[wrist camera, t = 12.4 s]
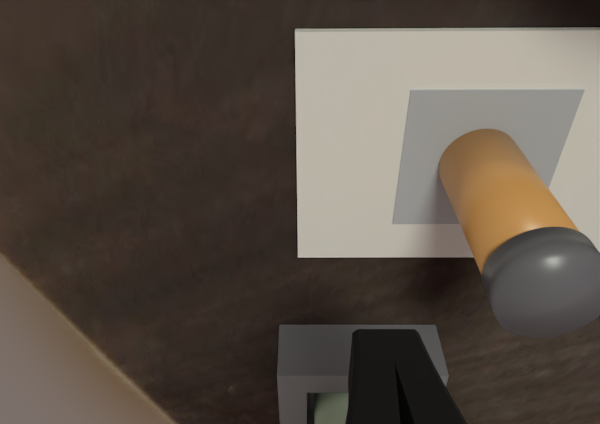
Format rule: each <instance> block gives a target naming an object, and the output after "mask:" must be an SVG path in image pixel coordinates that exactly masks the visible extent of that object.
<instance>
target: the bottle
mask: <svg viewBox="0 0 600 424" xmlns="http://www.w3.org/2000/svg"><path fill="white" fill-rule="evenodd" d="M439 176H440V179H441V182H442V184H443V186H444V189H445V191H446V193H447V196H448V198H449V200H450V203H451V205H452V207H453V209H454V212H455V214H456V216H457V219H458V221H459V223H460V226H461V228H462V230H463V233H464V235H465V237H466V240H467V242H468V244H469V247H470V249H471V251H472V254H473V256H474V258H475V261H476V263H477V265H478V268H479V270H480V272H481V275H482V276H481V280H482V286H483V288H484V291H485V293H486V295H487V298H488V300H489V303H490V305H491V307H492V310H493V312H494V314H495V317H496V319H497V321H498V323H499V324H500V325H501V326H502V327H503V328H504V329H505V330H507V331H508V332H510V333H512V334H515V335H518V336H522V337H527V338H547V337H554V336H558V335H563V334H566V333H569V332H572V331H574V330H577V329H579V328H581V327H583V326H585V325H587V324H588V323H590V322H592V321H593V320H595V319H596V318H597V317H599V316H600V252H599V251H598V250H597V248H596V247H595V246H594V244H593V243H592V242H591V240H590V239H589V238H588V237H587V236H586V235H584V234H583V233H581V232H579V230H578V229H577V227H576V226H575V225H574V223H573V222H572V220H571V219H570V218H569V216H568V215H567V213H566V212H565V211H564V209H563V208H562V207H561V205H560V204H559V202H558V201H557V200H556V198H555V197H554V195H553V194H552V193H551V191H550V190H549V188H548V187H547V186H546V184H545V183H544V182H543V180H542V179H541V177H540V176H539V175H538V173H537V172H536V170H535V169H534V168H533V166H532V165H531V163H530V162H529V161H528V159H527V158H526V157H525V155H524V154H523V152H522V151H521V150H520V148H519V147H518V145H517V144H516V143H515V141H514V140H513V139H512V138H511V137H510V136H509V135H508V134H506V133H505V132H502V131H500V130H496V129H478V130H474V131H471V132H468V133H466V134H464V135H462V136H460V137H459V138H457V139H456V140H454V141H453V142H452V143H451V144H450V145H449V146H448V147H447V148H446V150H445V151H444V153H443V155H442V157H441V159H440V162H439Z"/></svg>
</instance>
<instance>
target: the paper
mask: <svg viewBox="0 0 600 424" xmlns="http://www.w3.org/2000/svg"><path fill="white" fill-rule="evenodd" d="M295 75H296V152H297V229H298V258H337V257H474V256H473V254H472V251H471V249H470V247H469V244H468V242H467V240H466V237H465V235H464V233H463V230H462V228H461V226H460V223H459V221H458V219H457V216H456V214H455V212H454V209H453V207H452V205H451V203H450V200H449V198H448V196H447V193H446V191H445V189H444V186H443V184H442V182H441V179H440V176H439V162H440V159H441V157H442V155H443V153H444V151H445V150H446V148H447V147H448V146H449V145H450V144H451V143H452V142H453V141H454V140H456V139H457V138H459V137H460V136H462V135H464V134H466V133H468V132H471V131H474V130H478V129H496V130H500V131H502V132H505V133H506V134H508V135H509V136H510V137H511V138H512V139H513V140H514V141H515V143H516V144H517V145H518V147H519V148H520V150H521V151H522V152H523V154H524V155H525V157H526V158H527V159H528V161H529V162H530V163H531V165H532V166H533V168H534V169H535V170H536V172H537V173H538V175H539V176H540V177H541V179H542V180H543V182H544V183H545V184H546V186H547V187H548V188H549V190H550V191H551V193H552V194H553V195H554V197H555V198H556V200H557V201H558V202H559V204H560V205H561V207H562V208H563V209H564V211H565V212H566V213H567V215H568V216H569V218H570V219H571V220H572V222H573V223H574V225H575V226H576V227H577V229H578V230H579V232H581V233H583V234H584V235H586V236H587V237H588V238H589V239H590V240H591V242H592V243H593V244H594V246H595V247H596V248H597V250H598V251H599V252H600V27H563V28H370V29H295Z"/></svg>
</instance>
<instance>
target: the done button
mask: <svg viewBox="0 0 600 424" xmlns="http://www.w3.org/2000/svg"><path fill="white" fill-rule="evenodd" d="M347 411H348V393H314V417H315V424H345V422H346V416H347Z"/></svg>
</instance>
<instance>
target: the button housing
mask: <svg viewBox="0 0 600 424" xmlns="http://www.w3.org/2000/svg"><path fill="white" fill-rule="evenodd" d="M357 329H415V330H416V331H418V332H419V334H420V336H421V339H422V341H423V343H424V345H425V347H426V350H427V352H428V354H429V356H430V358H431V360H432V362H433V364H434V366H435V368H436V370H437V372H438V374H439V375H440V377H441V379H442V381H443V383H444V385H445V387H446V384H447V380H448V377H449V375H448V371H447V367H446V363H445V359H444V356H443V352H442V348H441V344H440V340H439V337H438V333H437V329H436V325H279V343H278V364H277V385H278V401H279V418H280V424H315V417H314V393H348V376H349V365H350V354H351V343H352V332H354V331H356V330H357Z"/></svg>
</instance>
